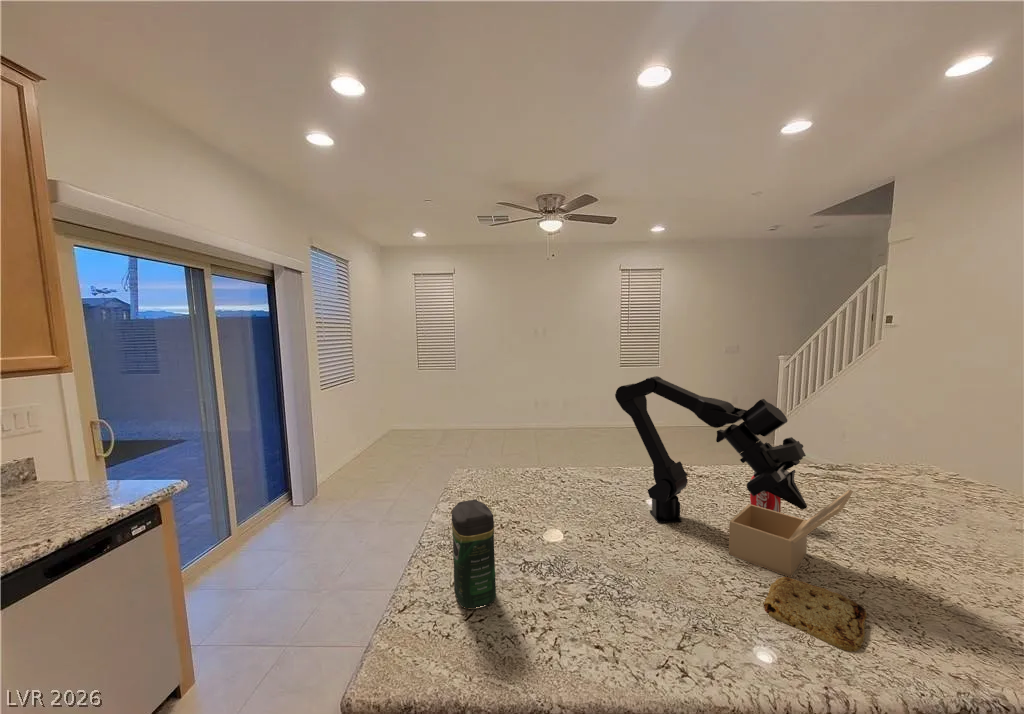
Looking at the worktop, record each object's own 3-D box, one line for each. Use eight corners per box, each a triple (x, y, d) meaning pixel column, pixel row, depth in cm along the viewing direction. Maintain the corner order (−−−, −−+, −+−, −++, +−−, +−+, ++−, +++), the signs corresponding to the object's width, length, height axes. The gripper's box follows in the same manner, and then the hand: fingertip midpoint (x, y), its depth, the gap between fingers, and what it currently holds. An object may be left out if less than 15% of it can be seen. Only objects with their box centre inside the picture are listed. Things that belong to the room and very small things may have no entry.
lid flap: (838, 507, 76) (842, 510, 75) (850, 489, 84) (853, 492, 83) (791, 540, 82) (794, 543, 81) (807, 520, 90) (809, 522, 90)
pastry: (741, 585, 81) (741, 571, 81) (827, 584, 80) (827, 570, 80) (798, 654, 64) (799, 636, 64) (909, 654, 63) (910, 636, 63)
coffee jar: (501, 604, 77) (498, 512, 75) (462, 616, 74) (458, 520, 73) (486, 576, 86) (483, 493, 84) (450, 585, 83) (447, 500, 82)
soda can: (785, 524, 104) (786, 480, 103) (756, 522, 106) (756, 478, 105) (773, 511, 111) (774, 470, 110) (745, 510, 112) (746, 469, 112)
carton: (729, 554, 91) (729, 521, 91) (748, 534, 100) (749, 503, 99) (790, 577, 82) (791, 541, 82) (806, 553, 91) (807, 520, 90)
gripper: (765, 436, 81) (830, 505, 74) (790, 420, 94) (848, 478, 86) (724, 463, 88) (780, 529, 81) (752, 445, 100) (803, 501, 93)
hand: (805, 508), depth 85 cm, fingers closed
